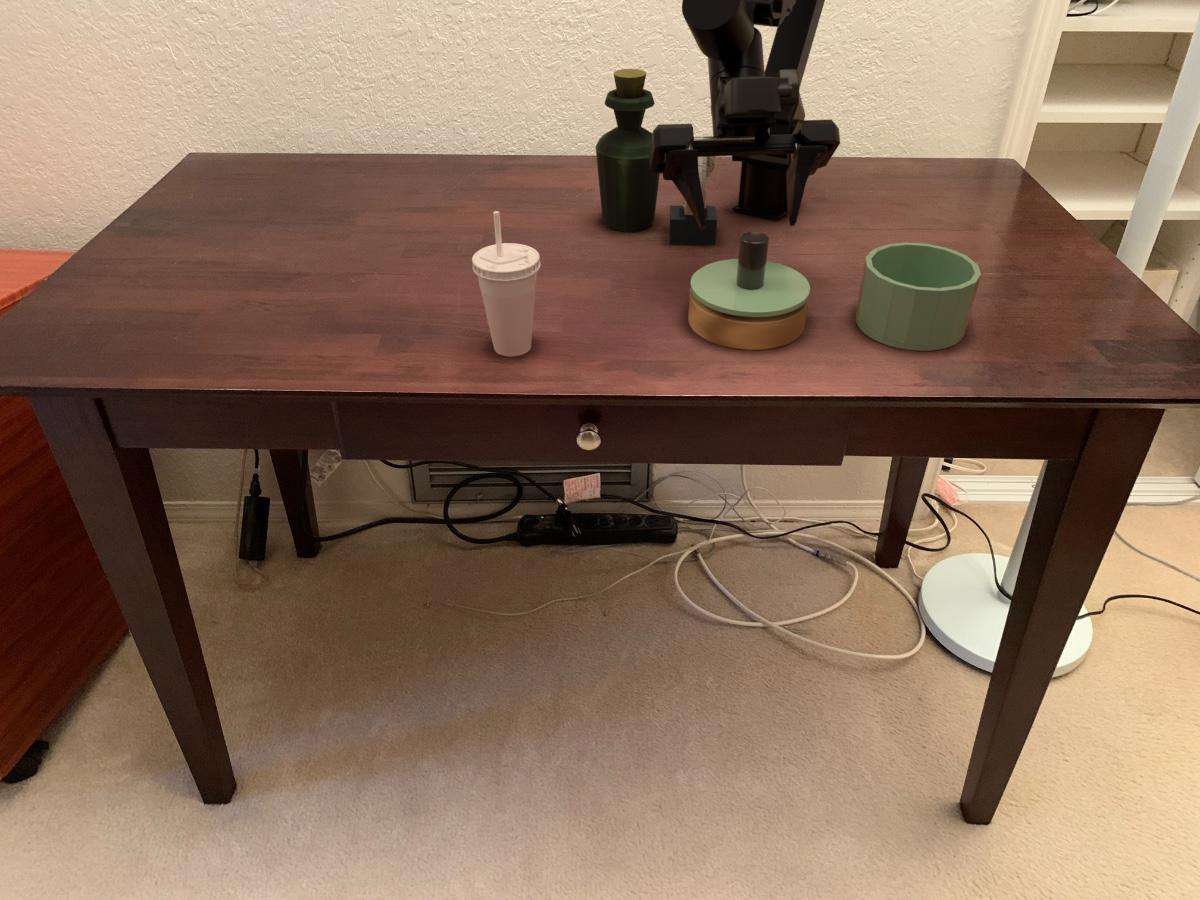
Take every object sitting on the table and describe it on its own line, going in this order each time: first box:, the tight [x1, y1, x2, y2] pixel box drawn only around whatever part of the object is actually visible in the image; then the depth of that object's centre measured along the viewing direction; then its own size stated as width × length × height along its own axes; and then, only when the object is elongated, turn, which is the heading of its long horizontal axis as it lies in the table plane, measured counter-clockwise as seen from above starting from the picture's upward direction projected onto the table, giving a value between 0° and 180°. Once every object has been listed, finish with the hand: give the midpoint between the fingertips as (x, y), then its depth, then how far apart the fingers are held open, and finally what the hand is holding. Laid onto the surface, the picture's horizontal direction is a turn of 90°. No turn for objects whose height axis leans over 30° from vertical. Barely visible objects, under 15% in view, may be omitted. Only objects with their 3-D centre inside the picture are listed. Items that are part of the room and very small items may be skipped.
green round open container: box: [855, 241, 982, 352], centre depth 91 cm, size 11×11×7 cm
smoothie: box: [471, 210, 542, 357], centre depth 86 cm, size 6×6×14 cm
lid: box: [689, 231, 811, 317], centre depth 91 cm, size 12×12×6 cm
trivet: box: [687, 289, 809, 351], centre depth 93 cm, size 12×12×3 cm
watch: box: [668, 156, 718, 246], centre depth 108 cm, size 6×8×11 cm
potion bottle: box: [595, 68, 661, 232], centre depth 110 cm, size 8×8×18 cm
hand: (748, 226), depth 92 cm, fingers open, 9 cm apart
